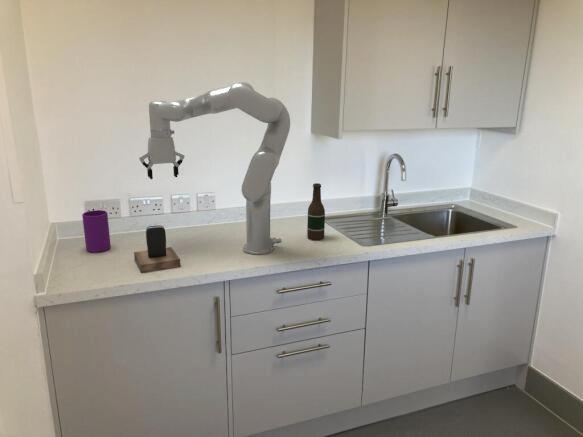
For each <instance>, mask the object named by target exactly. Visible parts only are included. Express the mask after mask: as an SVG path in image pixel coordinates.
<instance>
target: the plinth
mask: <svg viewBox="0 0 583 437" xmlns="http://www.w3.org/2000/svg"><path fill="white" fill-rule="evenodd" d="M166 253H167V255H166V256H160V257H148V250H141V251H134V252H133V255H134V262H135V264H136V266H137V268H138V269H139V271H140V273H141V274H143V273H148V272H149V273H150V272H155V271H162V270H168V269H174V268H180V267H181V259H180V257H179V256H178V254H177V253H176V252H175V251H174V249H173V248H172V247H171V246H169V247H168V246H167V247H166Z"/></svg>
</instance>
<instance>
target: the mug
mask: <svg viewBox="0 0 583 437" xmlns="http://www.w3.org/2000/svg"><path fill="white" fill-rule="evenodd" d="M81 216H82V226H83V233H84V243H85V250H86V251H87V252H89V253H103V252H106V251H108V250H110V248H111V236H110V227H109V215H108V212H107V211H106V210H102V209H100V210H99V209H96V210H88V211H85V212H84V213H82V215H81Z"/></svg>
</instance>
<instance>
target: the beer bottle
mask: <svg viewBox="0 0 583 437" xmlns="http://www.w3.org/2000/svg"><path fill="white" fill-rule="evenodd" d="M312 187H313V188H312V189H313V190H312V199H311V202H310V204H309V205H308V207H307V225H306V227H307V229H306V230H307V231H306V232H307V233H306V235H307V240H310V241H314V242H315V241H317V242H318V241H322V240H324V239H325V226H326V225H325V222H326V221H325V220H326V210H325V207H324V204H323V203H322V194H321V193H322V191H321V188H322V184H321V183H318V182H317V183H313V184H312Z"/></svg>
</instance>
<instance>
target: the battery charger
mask: <svg viewBox="0 0 583 437" xmlns="http://www.w3.org/2000/svg"><path fill="white" fill-rule="evenodd" d="M166 232H167V231H166V228H165V227H164V226H163V225H149V226H147V227H146V229H145V239H146V240H145V242H146V248H147V250H148V257H160V256H166V255H167V253H166V248H167V235H166V234H167V233H166ZM147 250H146V251H147Z"/></svg>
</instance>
